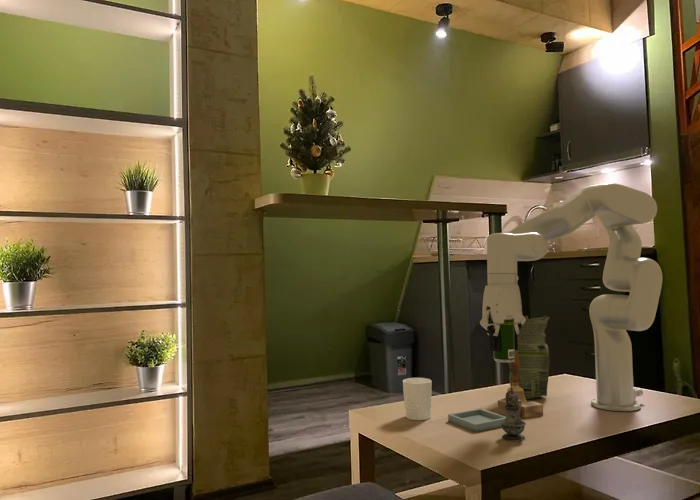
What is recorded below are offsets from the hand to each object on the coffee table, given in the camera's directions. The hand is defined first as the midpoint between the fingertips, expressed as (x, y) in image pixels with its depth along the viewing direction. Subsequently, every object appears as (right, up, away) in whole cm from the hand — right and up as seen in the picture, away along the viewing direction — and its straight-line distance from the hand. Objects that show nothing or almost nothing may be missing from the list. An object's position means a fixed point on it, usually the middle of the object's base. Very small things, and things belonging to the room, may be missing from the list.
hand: (503, 349), depth 141 cm
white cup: (-21, -20, +8) cm, 30 cm away
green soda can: (0, -3, 0) cm, 3 cm away
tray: (-7, -19, +1) cm, 20 cm away
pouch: (+16, -20, +28) cm, 37 cm away
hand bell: (+8, -20, +15) cm, 26 cm away
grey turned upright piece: (-1, -19, -12) cm, 22 cm away
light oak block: (+9, -19, +7) cm, 23 cm away
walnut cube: (+3, -19, +6) cm, 20 cm away
